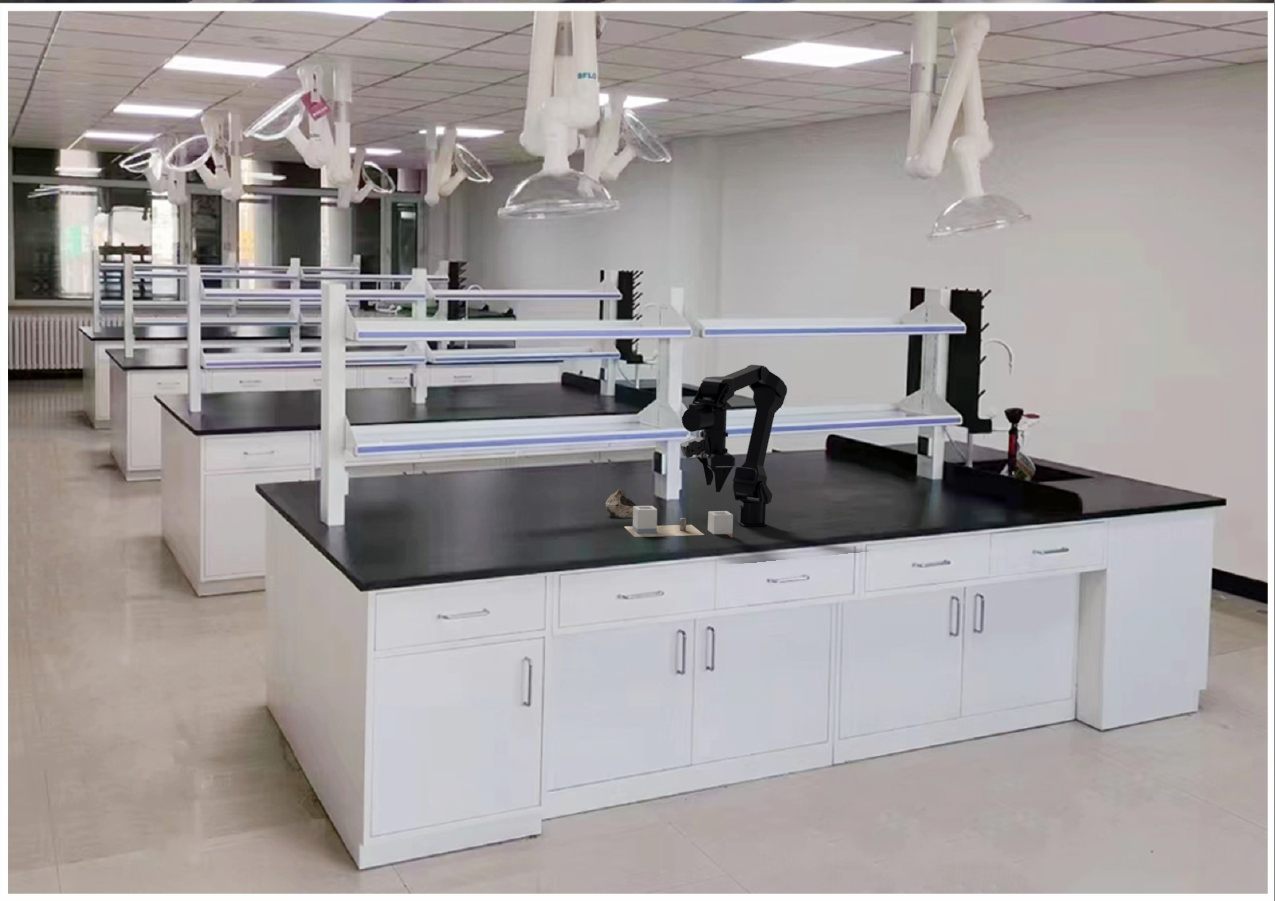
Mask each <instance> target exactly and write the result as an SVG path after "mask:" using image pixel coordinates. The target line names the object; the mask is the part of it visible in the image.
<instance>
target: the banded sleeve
mask: <svg viewBox="0 0 1275 901" xmlns="http://www.w3.org/2000/svg"><path fill="white" fill-rule="evenodd" d="M707 513H708V514H707V516H708V517H707V531H708V532H710V533H711V534H712V535H727V536H729V537H730V538H733V526H734V515H733V513H732V512H731V513H730V511H728V510H718V511H716V510H714V511H713V510H712V511H710V510H709V511H708V512H707Z"/></svg>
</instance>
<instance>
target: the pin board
mask: <svg viewBox="0 0 1275 901" xmlns="http://www.w3.org/2000/svg"><path fill="white" fill-rule="evenodd" d="M624 528H625V530H627V532H628V533H630V534H631V535H632V536H633V537H634V538H644V537H645V538H646V537H647V538H648V537H650V538H651V537H654V538H655V537H681V536H682V537H683V536H685V537H687V536H705V534H704V533H703V532H701V531H700V530H699V529H698V528H696V527H695V526H694V525H692V524H687V518H686V517H680V518H679V524H672V525H669V524H667V525H657V533H642V534H637V533H636V532H635V531H634V530H633V525H631V526H624Z"/></svg>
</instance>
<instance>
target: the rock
mask: <svg viewBox="0 0 1275 901" xmlns="http://www.w3.org/2000/svg"><path fill="white" fill-rule="evenodd" d="M633 506H638V505H637V503H635V502H634V501H633V500H632V499H631V498H630V497H629V496H628V494H626V492H625V491H624V490H623V489H617V491H615V492H614V493H612V494H610V496H609V497H608V498H607V500H606V502H605V510H606V511H607V512H609V515H610V516H609V517H618V518H623V519H627V518H632V519H633Z"/></svg>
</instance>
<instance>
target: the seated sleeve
mask: <svg viewBox="0 0 1275 901" xmlns="http://www.w3.org/2000/svg"><path fill="white" fill-rule="evenodd" d="M632 526H633V530H634V531H635V532H636V533H637V534H642V533H657V526H658V508H656V507H654V506H653V505H637V506H633V518H632Z"/></svg>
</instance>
